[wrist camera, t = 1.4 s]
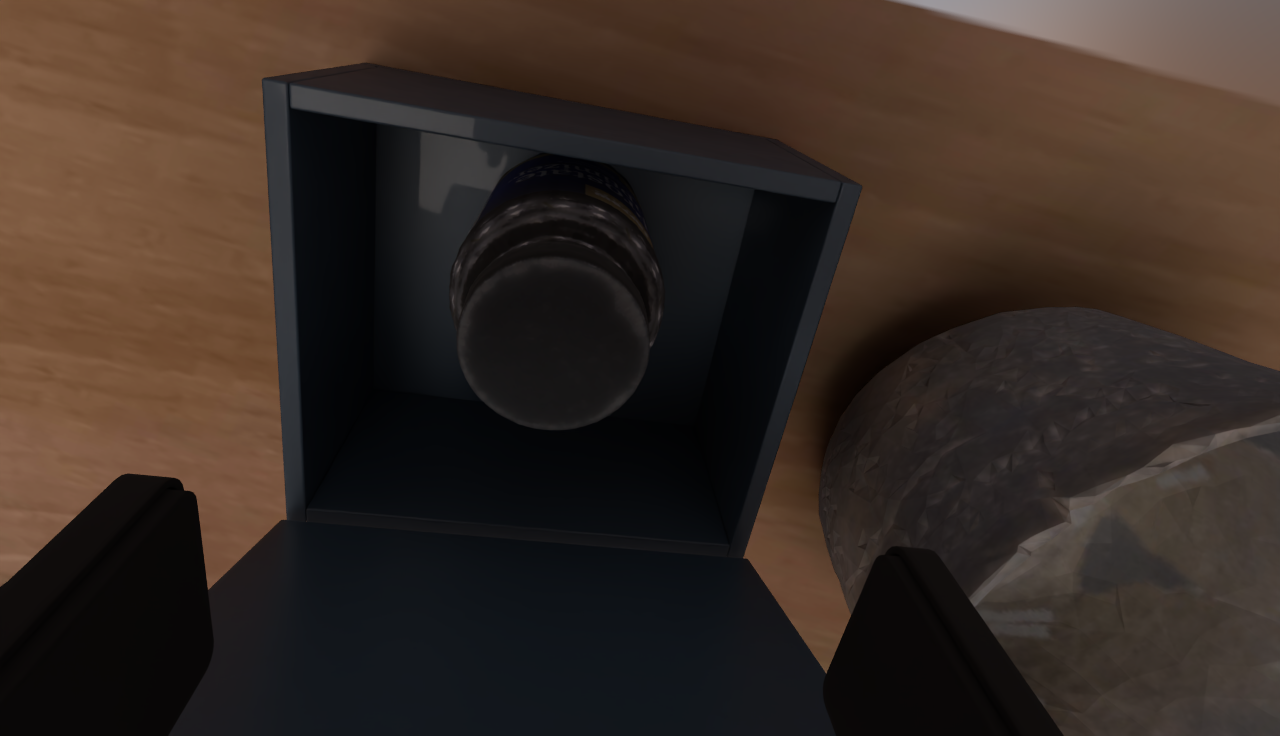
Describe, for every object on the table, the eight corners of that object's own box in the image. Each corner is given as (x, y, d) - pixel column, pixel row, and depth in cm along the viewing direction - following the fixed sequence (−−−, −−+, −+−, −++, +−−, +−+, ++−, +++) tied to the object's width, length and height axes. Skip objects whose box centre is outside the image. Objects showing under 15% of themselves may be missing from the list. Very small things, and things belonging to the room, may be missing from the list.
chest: (364, 62, 23) (260, 77, 16) (777, 139, 26) (863, 185, 18) (362, 392, 29) (286, 522, 21) (702, 431, 31) (743, 560, 24)
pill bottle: (660, 168, 25) (713, 256, 15) (624, 316, 28) (650, 472, 18) (494, 130, 24) (438, 198, 14) (473, 287, 27) (413, 437, 17)
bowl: (812, 205, 27) (1044, 376, 14) (1197, 248, 29) (1719, 429, 16) (731, 548, 35) (829, 872, 21) (1041, 560, 37) (1304, 859, 24)
